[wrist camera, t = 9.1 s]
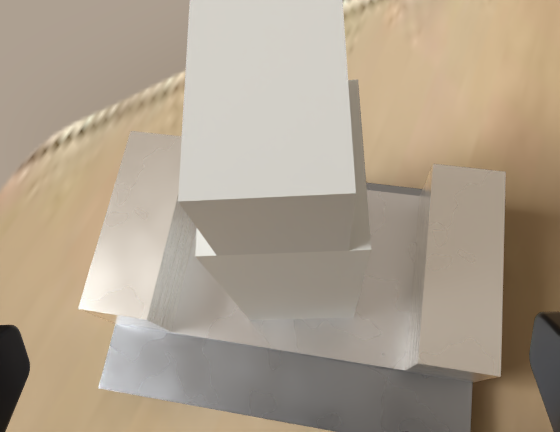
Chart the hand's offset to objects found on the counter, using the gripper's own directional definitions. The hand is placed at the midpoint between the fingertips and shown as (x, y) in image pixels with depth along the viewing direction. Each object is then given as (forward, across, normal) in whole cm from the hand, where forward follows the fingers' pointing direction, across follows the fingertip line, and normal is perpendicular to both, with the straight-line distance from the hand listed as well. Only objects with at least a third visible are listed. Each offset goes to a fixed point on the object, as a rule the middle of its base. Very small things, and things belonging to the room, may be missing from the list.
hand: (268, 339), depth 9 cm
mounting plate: (+11, 0, +6) cm, 13 cm away
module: (+11, 0, +5) cm, 12 cm away
